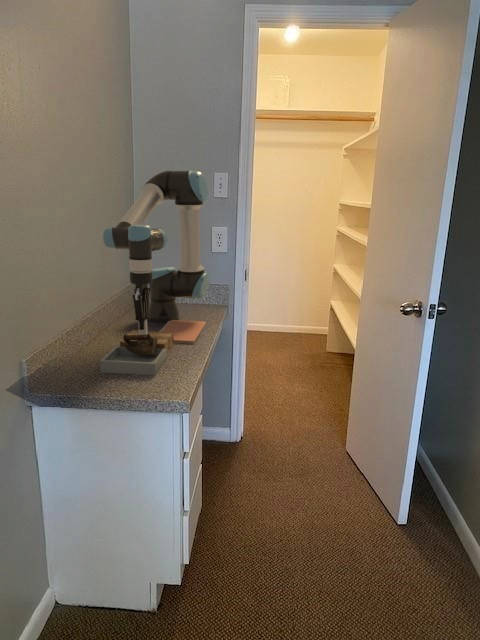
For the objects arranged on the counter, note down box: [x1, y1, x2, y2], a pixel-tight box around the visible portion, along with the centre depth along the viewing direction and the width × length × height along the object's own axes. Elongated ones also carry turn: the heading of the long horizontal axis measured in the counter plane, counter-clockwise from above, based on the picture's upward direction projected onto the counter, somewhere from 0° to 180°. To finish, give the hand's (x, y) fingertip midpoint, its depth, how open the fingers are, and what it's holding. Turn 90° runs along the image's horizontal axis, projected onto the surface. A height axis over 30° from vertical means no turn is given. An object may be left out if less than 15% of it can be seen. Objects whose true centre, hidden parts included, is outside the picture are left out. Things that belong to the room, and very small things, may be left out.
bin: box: [99, 345, 168, 376], centre depth 151 cm, size 16×18×4 cm
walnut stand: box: [119, 330, 175, 355], centre depth 166 cm, size 14×16×5 cm
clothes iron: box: [122, 334, 158, 356], centre depth 154 cm, size 7×11×10 cm
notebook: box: [158, 319, 207, 345], centre depth 187 cm, size 27×17×2 cm, turn 174°
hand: (143, 337), depth 160 cm, fingers closed
